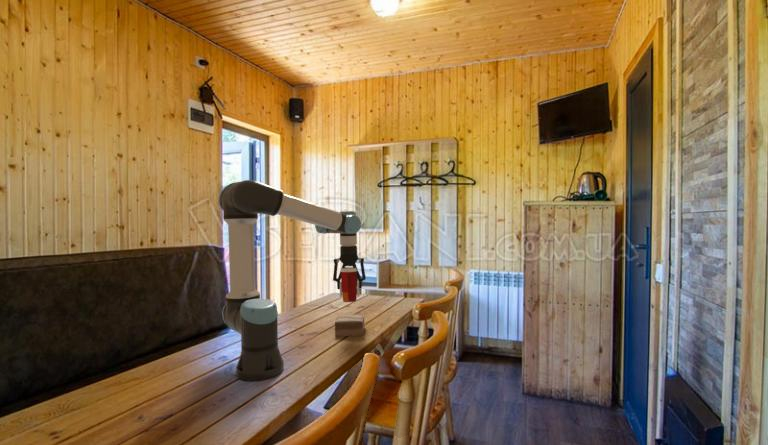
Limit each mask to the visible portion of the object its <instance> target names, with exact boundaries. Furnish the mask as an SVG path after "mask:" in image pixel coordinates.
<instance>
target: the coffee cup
mask: <svg viewBox="0 0 768 445" xmlns="http://www.w3.org/2000/svg"><path fill="white" fill-rule="evenodd" d="M357 269H358V268H357ZM357 269H356V268H353V266H345V268H342V267H340V270H339V273H340V272H341V280H340V281H341V283H342V301H343V303H355V302H357V281H358V278H357V271H359V270H357Z"/></svg>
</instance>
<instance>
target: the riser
mask: <svg viewBox="0 0 768 445" xmlns="http://www.w3.org/2000/svg"><path fill="white" fill-rule="evenodd" d="M364 331H365V314H338V315H337V317H336V320H334V336H335V337H359V336H360V337H361V336H364Z"/></svg>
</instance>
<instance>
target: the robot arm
mask: <svg viewBox="0 0 768 445" xmlns="http://www.w3.org/2000/svg"><path fill="white" fill-rule="evenodd" d="M218 204H219V207H220V208H221V210H222V211H223V212H222V213H223V221H224V222H225V223H226V224H227V226H228V228H227V229H228V230H227V231H228V232H227V233H228V262H229V266H228V267H229V292H228V293H227V294H226V295H225V304H224V306H223V307H222V311H221V315H222V320H223V322H224V324H225V325H226V326H227V327H228V328H229V329H230V330H232V331H234V332H237V334H240V342H241V344H240V347H241V350H240V351H241V352H240V355H239V358H238V360H237V361H238V362H237V365H236V369H235V375H236V377H237V378H238V379H239V380H242V381H247V382H253V381H254V382H255V381H262V380H268V379H270V378H274V377H276V376H278V375H280V374H282V373H283V371H284V368H285V363H284V359H283V356H282V353H281V351H280V348H279V342H278V341H279V338H278V337H279V334H278V333H279V331H278V324H279V323H278V317H279V316H278V315H279V312H278V306H277V303H276V302H275V301H273V300H271V299H268V298H261V293H260V292H259V290H257V289H256V270H255V269H256V266H255V260H256V259H255V233H254V232H255V230H254V229H255V223H256V222H257V221H258V219H259V217H258V216H259V215H260V214H261V215H267V216H271V217H275V216H276V215H279V216H282V217H286V218H289V219H293V220H297V221H300V222H303V223H306V224H310V225H314V229H315V230H316V232H317V233H318V234H339V244H340V247H339V248H340V249H339V250H340V256H339V257H338V258H336V257H335V258H334V259H333V263H334V265H333V267H334V268H333V274H332V275H333V277H332V281H333V282H336V284H337V286H336V289H337V290H339V298H343V295H342V283H341V272H340V271H339V274H338V266H339V263H340V262H341V264H342V265H341V268H345V267H353V268H356V269H357V270H358V266H357V264H356V263H357V262H358V263H359V264H360V272H361V273H360V272H359V270H358V271H357V297H358V298H359V297H360V295H361V294H360V293H361V291H360V290H361V289H362V287H363V284H362V283H363V281H365V280H366V279H367V278H366V272H365V265H364V263H365V258H364V257H359V256H358V237H357V236H358V234H357V233H358V232H359V231H360V230H361V228H362V222H361V219H360V217H359V216H357V212H356V211H354V210H345V211H343V210H342V211H336V210H333V209H331V208H328V207H326V206H323V205H319V204H316V203H313V202H310V201H306V200H303V199H301V198H298V197H294V196H291V195H288V194H285V193H284V192H283V190H282V189H279V188H276V187H274V186H272V185H268V184H266V183H263V182H260V181H256V180H252V179H247V180H246V179H245V180H242V181H237V182H236V181H235V182H231V183H229V184H227V185H225V186H224V187H223V188H222V189H221V191H220V193H219V196H218ZM258 214H259V215H258ZM360 274H361V275H360ZM337 275H338V277H337Z"/></svg>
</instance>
